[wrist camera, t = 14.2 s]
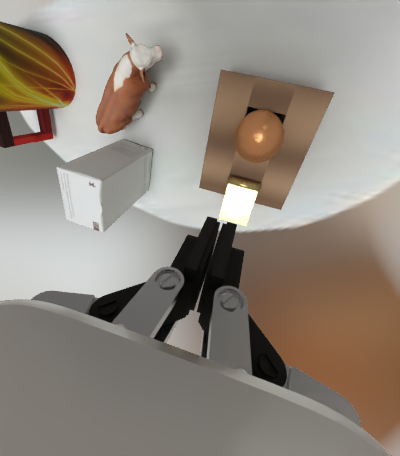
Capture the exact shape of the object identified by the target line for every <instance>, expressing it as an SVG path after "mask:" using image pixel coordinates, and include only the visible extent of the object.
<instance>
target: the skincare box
mask: <svg viewBox="0 0 400 456" xmlns="http://www.w3.org/2000/svg"><path fill="white" fill-rule="evenodd" d="M152 153H153V150H152V149H149V148H146V147H143V146H141V145H138V144H135V143H132V142H129V141H126V140H120V141H117V142H115V143H113V144H110V145H108V146H105V147H103V148H101V149H98V150H96V151H94V152H91V153H89V154H86V155H84V156H82V157H79V158H77V159H75V160H72V161H70V162H67V163H65V164H63V165H60V166H58V167H57V173H58V178H59V183H60V188H61V193H62V199H63V204H64V209H65V215H66V219H67V220H69V221H71V222H74V223H77V224H80V225H83V226H86V227H88V228H91V229H94V230H97V231H100V232H104V231H105V230H107V229H108V228H109V227H110V226H111V225H112V224H113V223H114V222H115V221H116V220H117V219H118V218H119V217H120V216H121V215H122V214H123V213H124V212H125V211H127V210H128V209H129V208H130V207H131V206H132V205H133V204H134V203H135V202H136V201H137V200H138V199H139V198H140V197H141V196H142V195H143V194H144V193H146V192H147V191H148V190H149V182H150V173H151V164H152Z"/></svg>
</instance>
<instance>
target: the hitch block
mask: <svg viewBox="0 0 400 456" xmlns="http://www.w3.org/2000/svg"><path fill="white" fill-rule="evenodd" d="M333 95H334V93H333V92H329V91H324V90H319V89H314V88H309V87H304V86H299V85H294V84H289V83H284V82H279V81H275V80H270V79H265V78H260V77H255V76H250V75H245V74H240V73H235V72H230V71H226V70H221V73H220V78H219V84H218V89H217V94H216V100H215V105H214V111H213V116H212V121H211V127H210V132H209V138H208V143H207V148H206V154H205V159H204V165H203V170H202V175H201V181H200V186H199V188H202V189H206V190H209V191H213V192H217V193H221V194H224V195H225V194H226V190H227V186H228V185H227V181H228V177H229V176H232V177H236V178H240V179H244V180H247V181H251V182H255V183H259V184H262V185H261V189H260V192H259V193H257V196H256V198H255V201H254V203H257V204H261V205H265V206H269V207H272V208H276V209H280V210H281V208H282V206H283V204H284V202H285V200H286V197H287V195H288V193H289V191H290V189H291V186H292V184H293V182H294V180H295V178H296V175H297V173H298V171H299V169H300V167H301V165H302V162H303V160H304V158H305V156H306V154H307V151H308V149H309V147H310V145H311V143H312V141H313V138H314V136H315V134H316V132H317V130H318V127H319V125H320V123H321V121H322V119H323V116H324V114H325V112H326V110H327V108H328V106H329V103H330V101H331V99H332V97H333ZM249 107H252V108H257V109H265V110H269V111H271V112H275V113H279V114H281V116H280V121H281V123H282V125H283V128H284V141H283V144H282V146H281V148H280V150H279V151H278V153H277V154H276V155H275V156H273V157H272V158H271V159H269V160H267V161H265V162H261V163H253V162H249V161H247V160H245V159H243V158H242V157H241V156H240V155H239V154H238V152H237V150H236V148H235V144H234V136H235V131H236V129H237V127H238V125H239V123H240V122H241V121H242V119H243V118H244V117H245V116H246V115H247V114H248V111H249Z"/></svg>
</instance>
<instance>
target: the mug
mask: <svg viewBox="0 0 400 456" xmlns="http://www.w3.org/2000/svg"><path fill="white" fill-rule="evenodd" d="M75 89H76V83H75V76H74V71H73V68H72V65H71V63H70V61H69V59H68V57H67V55H66V54H65V52H64V50H63V49H62V48H61V47H60V45H59V44H58V43H57V42H56V41H54V40H53V39H52V38H51V37H49V36H47V35H45V34H43V33H39V32H36V31H32V30H29V29H25V28H21V27H18V26H14V25H11V24H7V23H3V22H0V146H1V147H4V148H7V147H11V146H17V145H21V144H26V143H31V142H39V141H44V140H48V139H53V133H52V126H51V120H50V114H49V109H52V108H64V107H66V106H68V105H69V104H70V103H71V102H72V100H73V98H74V95H75ZM21 110H37V115H38V121H39V126H40V131H41V132H37V133H31V134H26V135H19V136H14V137H13V136H12V132H11V128H10V124H9V121H8V117H7V113H6V111H21Z"/></svg>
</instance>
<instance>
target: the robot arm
mask: <svg viewBox="0 0 400 456" xmlns="http://www.w3.org/2000/svg"><path fill="white" fill-rule="evenodd" d="M219 225H220V222H217V219H215V218H212V217H207V219H206V221H205V223H204V225H203V227H202V230H201V232H200V234H199V236H198V237H195V236H191V235H188V236H187V237H186V239H185V241H184V243H183V244H182V246H181V248H180V250H179V252H178V254H177V256H176V257H175V260H174V261H173V263H172V265H171V267H163V268H160V269H158V270H157V271H156V272H154V274H153V275H152V276H151V277H150V278H149V279H148V281H147V282H144V283H141V284H138V285H135V286H132V287H129V288H126V289H123V290H120V291H117V292H114V293H111V294H108V295H105V296H102V297H101V298H95V296H94V295H87V294H77V293H68V292H59V291H46V292H43V293H40V294H38V295H36V296H35V297H33V299H31V300H5V301H0V456H392V455H391V454H390V453H389V452H388V451H387V450H386V449H385V448H384V447H383V446H382V445H381V444H380V443H379V442H377V441H376V440H375V439H374V438H373V437H372V436H371V435H369V434H368V433H367V432H366V431H365V430H363V429H362V428H361V423H360V419H359V416H358V415H357V412H356V410H355V409H354V407H353V406H352V405H351V404H350V403H349V401H348V400H346V399H345V398H344V397H343V396H341V395H340V394H338V393H336V392H335V391H333V390H331V389H330V388H328V387H327V386H325V385H323V384H321V383H320V382H318V381H316V380H315V379H313V378H312V377H310V376H308V375H307V374H305V373H303V372H302V371H300V370H299V369H297V368H295V367H294V366H291V367H289V366H287V365H286V364H284V362H283V360H282V359H281V357H280V356H279V354H278V353H277V352H276V350H275V349H274V348H273V346H272V345H271V344H270V342H269V341H268V340H267V338H266V337H265V336H264V334H263V333H262V332H261V330H260V329H259V328H258V327H257V325H256V323H255V322H254V321H253V320H252V318H251V317H250V315H249V314H248V307H247V306H248V305H247V299H246V297H245V295H244V294H243V293H242V292H241V291H240V290H239V283H240V276H241V270H242V263H243V256H244V251H243V250H239V249H235V248H232V243H233V239H234V235H235V231H236V226H237V224H233V223H230V222H227V224H224V223H223V225H222V228H221V231H220V234H219V237H218V240H217V243H216V246H215V249H214V245H215V241H216V237H217V233H218V229H219ZM213 249H214V252H213ZM212 253H213V255H212ZM211 257H212V258H211ZM205 276H206V277H205ZM204 279H205V281H204ZM203 282H204V285H203ZM202 285H203V289H202V293H201V297H200V301H199V305H198V309H197V312H200V313H201V314H200V317H199V321H198V322H199V323H200V325H201V327H202V329H203V333H202V342H201V352H200V356H199V355H196V354H193V353H190V352H188V351H185V350H182V349H180V348H177V347H174V346H172V345H169V344H166V342H167V341H168V339H169V337H170V335H171V334H172V332H173V330H174V328H175V327H176V325H177V322H178V320H180V319H182V318H184V317H186V315H188V314H189V310H194V308H195V306H196V303H197V300H198V296H199V293H200V291H201V287H202Z"/></svg>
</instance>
